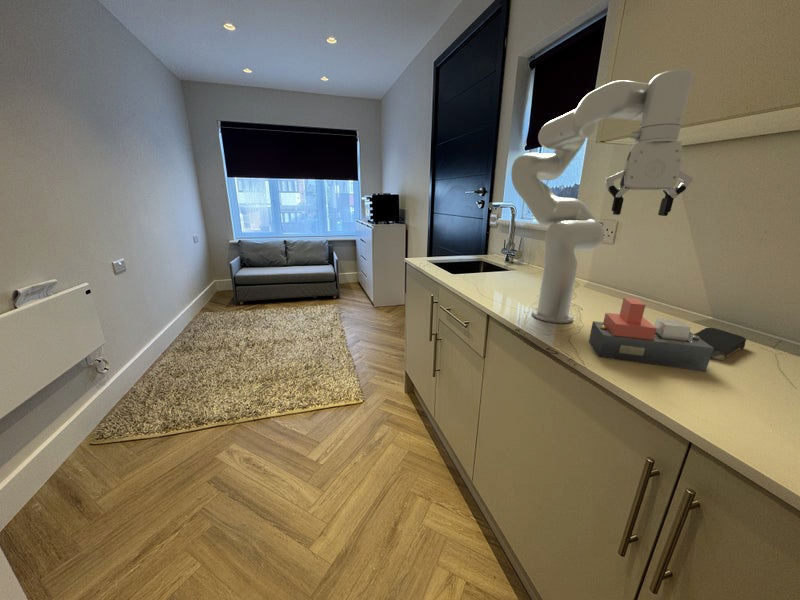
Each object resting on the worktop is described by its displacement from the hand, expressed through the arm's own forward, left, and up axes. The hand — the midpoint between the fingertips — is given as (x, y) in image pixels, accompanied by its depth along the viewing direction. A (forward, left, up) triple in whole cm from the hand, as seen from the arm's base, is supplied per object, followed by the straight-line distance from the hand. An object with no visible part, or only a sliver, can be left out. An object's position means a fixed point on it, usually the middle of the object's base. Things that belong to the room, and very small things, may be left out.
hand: (639, 215), depth 77 cm
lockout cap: (+5, +2, -28) cm, 29 cm away
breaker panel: (+5, +6, -34) cm, 35 cm away
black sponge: (-6, +26, -35) cm, 44 cm away
